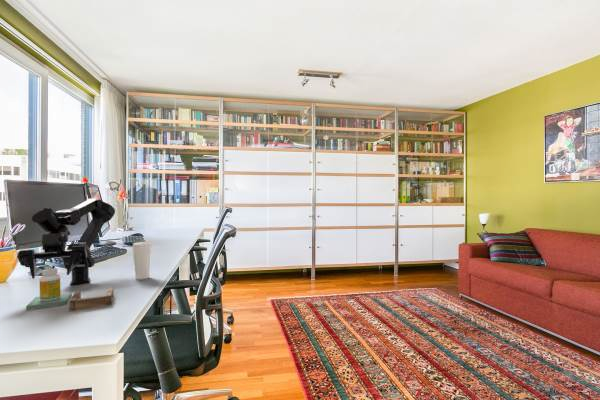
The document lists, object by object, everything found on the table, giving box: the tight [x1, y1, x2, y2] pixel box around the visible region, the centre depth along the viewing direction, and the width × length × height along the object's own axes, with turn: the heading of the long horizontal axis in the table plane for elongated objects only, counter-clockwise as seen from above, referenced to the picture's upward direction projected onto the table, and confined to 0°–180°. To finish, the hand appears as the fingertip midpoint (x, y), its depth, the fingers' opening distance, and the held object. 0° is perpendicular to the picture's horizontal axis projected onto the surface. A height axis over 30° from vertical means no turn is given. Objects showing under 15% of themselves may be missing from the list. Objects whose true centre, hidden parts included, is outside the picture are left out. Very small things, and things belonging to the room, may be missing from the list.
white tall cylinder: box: [132, 241, 152, 281], centre depth 134 cm, size 7×7×15 cm
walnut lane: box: [68, 286, 115, 312], centre depth 104 cm, size 10×11×3 cm
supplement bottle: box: [39, 268, 62, 301], centre depth 105 cm, size 5×5×10 cm
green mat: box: [25, 292, 73, 311], centre depth 105 cm, size 10×10×1 cm
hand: (50, 276), depth 105 cm, fingers open, 9 cm apart
